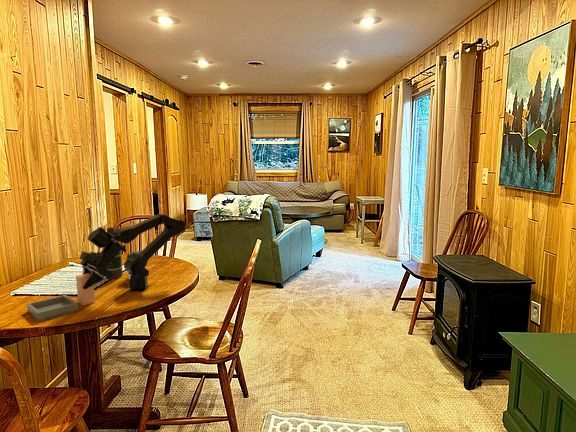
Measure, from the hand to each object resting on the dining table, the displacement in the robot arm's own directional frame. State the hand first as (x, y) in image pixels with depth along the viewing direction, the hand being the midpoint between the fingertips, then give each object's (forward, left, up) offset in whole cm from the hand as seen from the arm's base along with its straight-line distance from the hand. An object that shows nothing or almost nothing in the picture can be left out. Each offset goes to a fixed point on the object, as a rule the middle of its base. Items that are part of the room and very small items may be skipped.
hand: (81, 287), depth 155 cm
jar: (-11, -33, -7) cm, 35 cm away
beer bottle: (+1, -35, -7) cm, 35 cm away
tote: (+7, +7, -7) cm, 13 cm away
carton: (-1, -1, -7) cm, 7 cm away
